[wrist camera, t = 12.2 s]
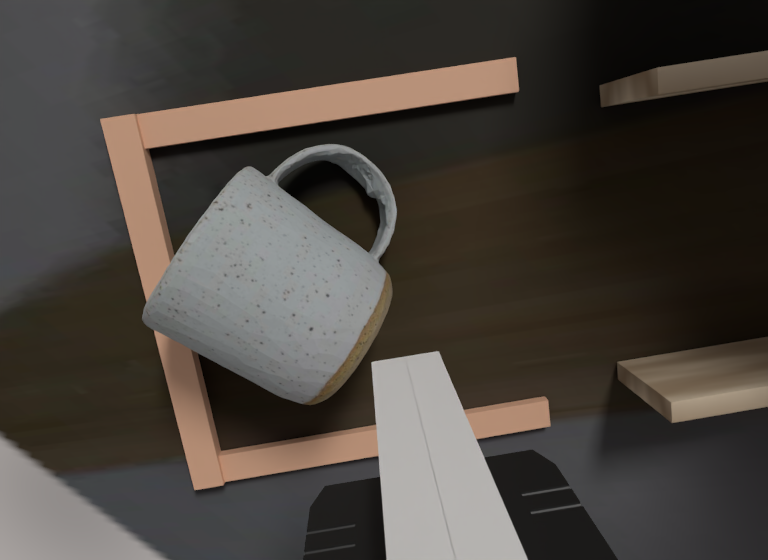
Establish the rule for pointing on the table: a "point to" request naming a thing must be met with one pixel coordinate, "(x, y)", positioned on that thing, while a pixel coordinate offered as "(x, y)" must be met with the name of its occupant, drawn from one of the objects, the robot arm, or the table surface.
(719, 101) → the table surface
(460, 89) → the terracotta bay
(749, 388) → the frame
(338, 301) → the ceramic mug
